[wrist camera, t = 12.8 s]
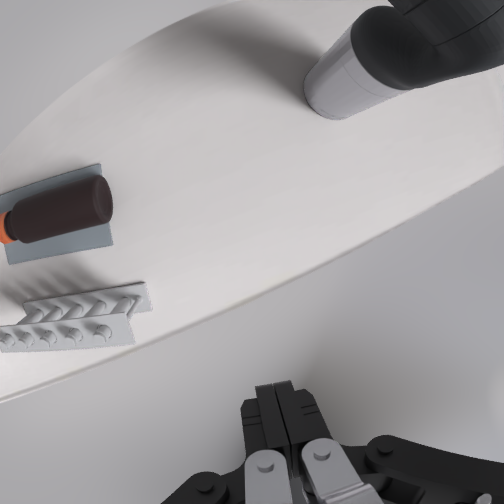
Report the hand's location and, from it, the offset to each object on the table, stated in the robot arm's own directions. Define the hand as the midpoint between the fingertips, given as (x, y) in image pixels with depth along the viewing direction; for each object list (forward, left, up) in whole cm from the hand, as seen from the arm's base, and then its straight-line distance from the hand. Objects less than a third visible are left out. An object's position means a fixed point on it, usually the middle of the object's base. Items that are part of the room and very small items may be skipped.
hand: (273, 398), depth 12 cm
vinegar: (-4, -19, -29) cm, 34 cm away
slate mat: (+2, -30, -32) cm, 44 cm away
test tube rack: (+15, -23, -32) cm, 42 cm away
